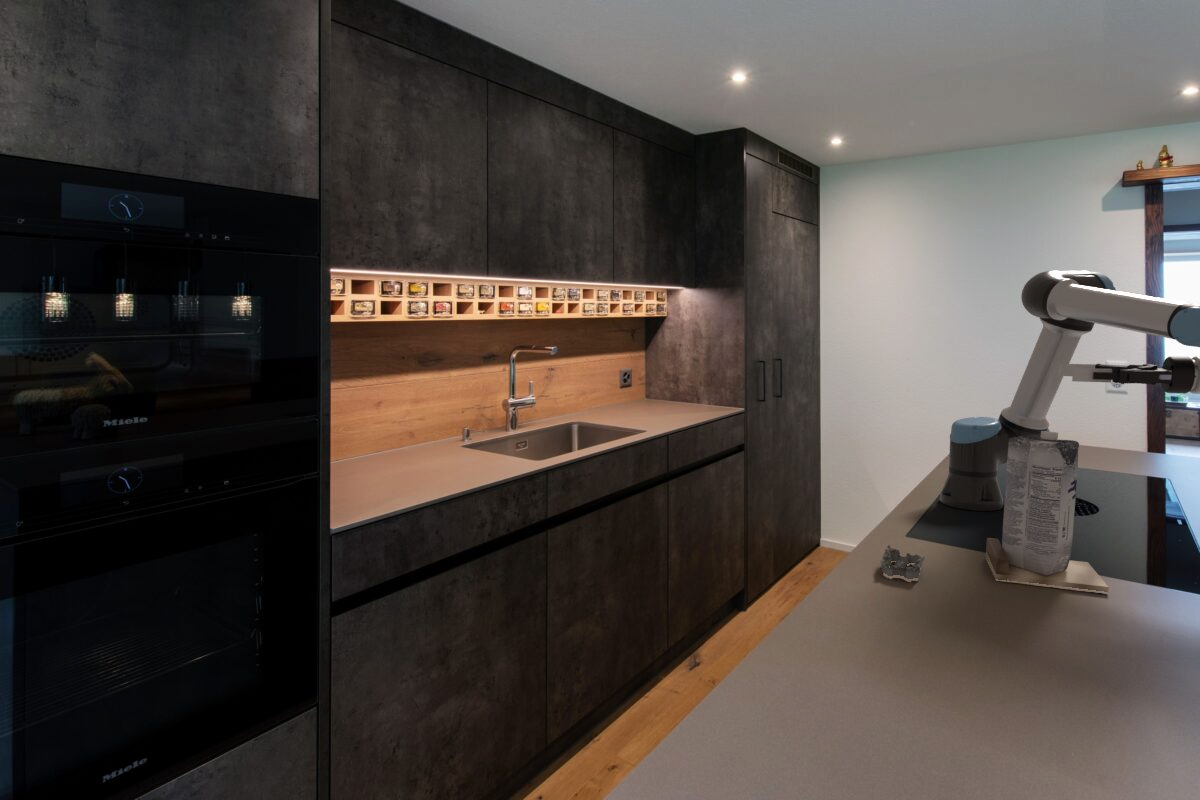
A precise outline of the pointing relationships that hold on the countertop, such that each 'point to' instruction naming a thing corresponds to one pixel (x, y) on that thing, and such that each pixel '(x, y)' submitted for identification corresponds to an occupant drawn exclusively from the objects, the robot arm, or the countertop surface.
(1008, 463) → the juice carton
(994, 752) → the countertop surface
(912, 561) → the egg carton
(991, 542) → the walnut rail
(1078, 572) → the oak board
